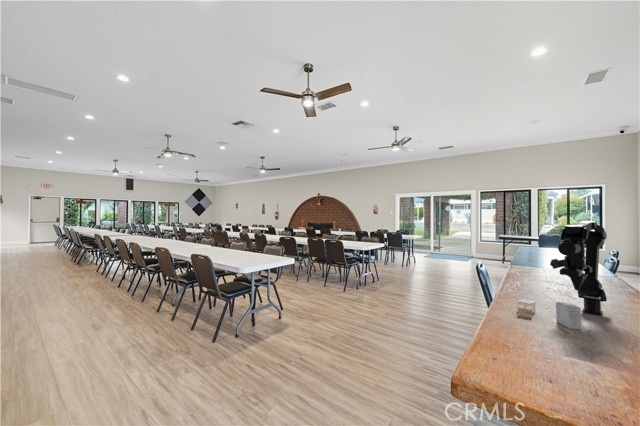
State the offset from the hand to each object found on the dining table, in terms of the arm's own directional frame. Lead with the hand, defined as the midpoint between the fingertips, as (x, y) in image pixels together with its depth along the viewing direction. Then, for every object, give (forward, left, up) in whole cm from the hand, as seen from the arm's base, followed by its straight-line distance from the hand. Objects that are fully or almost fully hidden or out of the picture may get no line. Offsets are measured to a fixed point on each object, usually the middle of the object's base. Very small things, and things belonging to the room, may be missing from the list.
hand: (576, 290), depth 120 cm
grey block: (+2, -18, -13) cm, 22 cm away
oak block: (+9, -17, -13) cm, 23 cm away
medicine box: (+11, -2, -13) cm, 17 cm away
